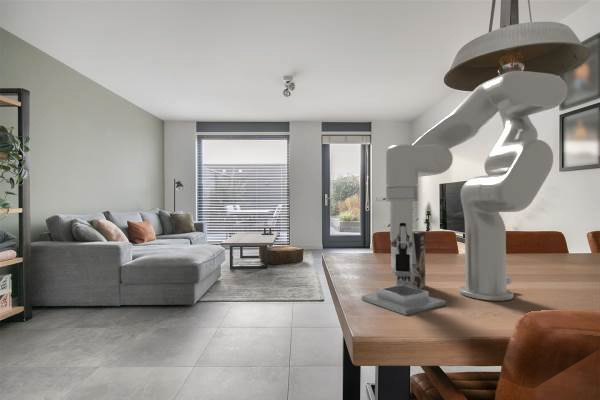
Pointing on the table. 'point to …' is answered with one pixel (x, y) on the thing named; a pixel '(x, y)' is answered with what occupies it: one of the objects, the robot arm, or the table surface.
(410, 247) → the grey jar with lid
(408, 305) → the collar
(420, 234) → the coffee box
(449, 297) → the table surface
